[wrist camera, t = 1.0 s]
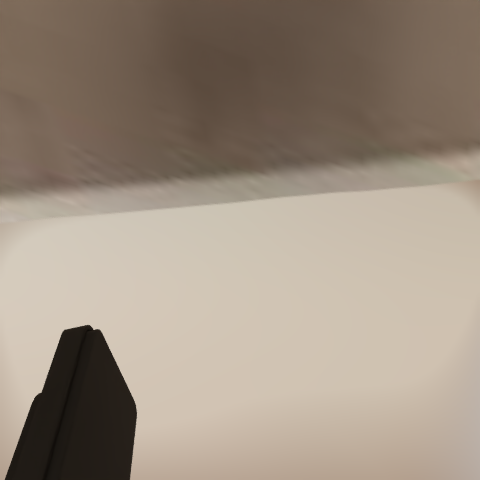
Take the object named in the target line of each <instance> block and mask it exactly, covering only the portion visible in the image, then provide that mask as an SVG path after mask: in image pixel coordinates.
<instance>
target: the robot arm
mask: <svg viewBox="0 0 480 480" xmlns="http://www.w3.org/2000/svg"><path fill="white" fill-rule="evenodd" d="M136 419H137V411H136V405H135V401H134V399H133V397H132V395H131V393H130V391H129V389H128V387H127V384H126V382H125V380H124V378H123V376H122V374H121V372H120V370H119V368H118V366H117V364H116V361H115V359H114V357H113V355H112V353H111V351H110V349H109V347H108V345H107V343H106V341H105V338H104V336H103V334H102V332H101V331H100V330H98V329H96V330H93V328H92V327H91V326H90V325H85V326H81V327H77V328H71V329H67V330H64V331H63V333H62V335H61V338H60V340H59V343H58V346H57V349H56V352H55V355H54V358H53V361H52V364H51V367H50V370H49V372H48V375H47V378H46V381H45V384H44V387H43V390H42V393H39V394H38V395H37V396H36V397H35V398H34V401H33V402H32V405H31V407H30V410H29V413H28V416H27V419H26V422H25V425H24V427H23V430H22V433H21V436H20V439H19V441H18V444H17V447H16V450H15V452H14V455H13V458H12V461H11V464H10V467H9V469H8V472H7V475H6V478H5V480H130V473H131V464H132V455H133V445H134V437H135V428H136Z"/></svg>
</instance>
